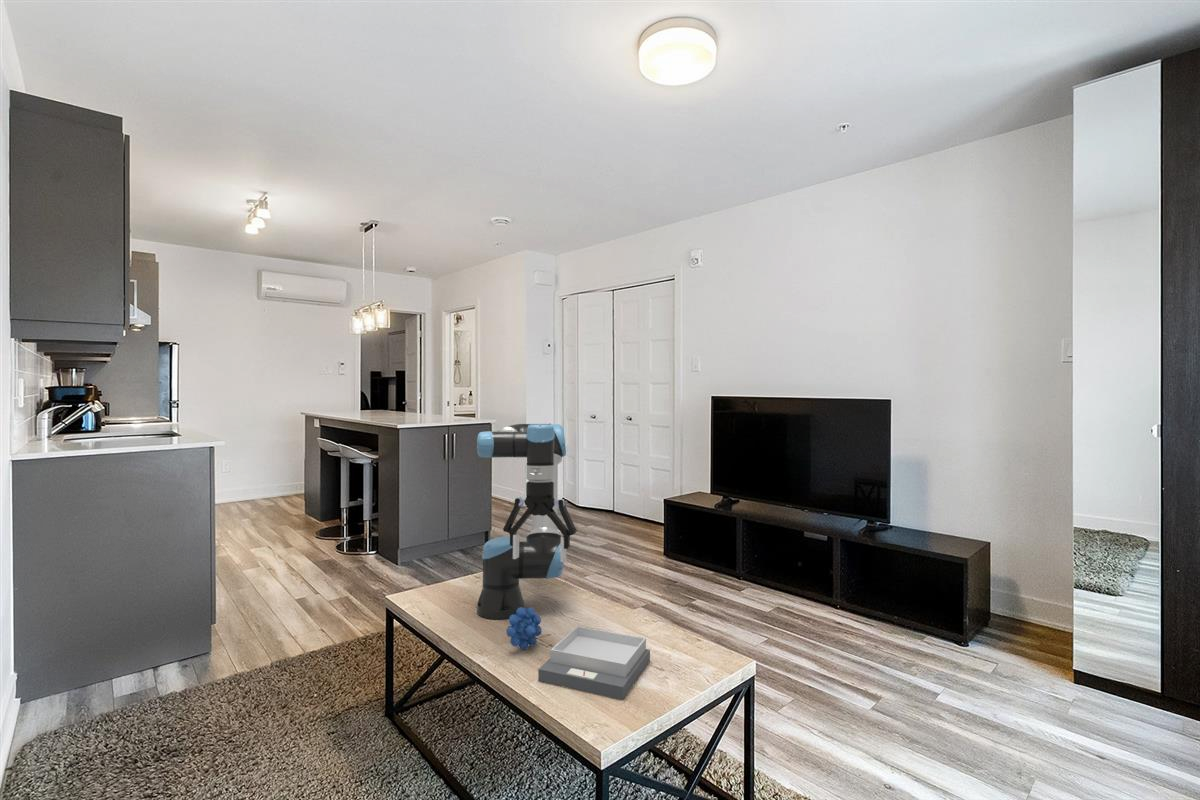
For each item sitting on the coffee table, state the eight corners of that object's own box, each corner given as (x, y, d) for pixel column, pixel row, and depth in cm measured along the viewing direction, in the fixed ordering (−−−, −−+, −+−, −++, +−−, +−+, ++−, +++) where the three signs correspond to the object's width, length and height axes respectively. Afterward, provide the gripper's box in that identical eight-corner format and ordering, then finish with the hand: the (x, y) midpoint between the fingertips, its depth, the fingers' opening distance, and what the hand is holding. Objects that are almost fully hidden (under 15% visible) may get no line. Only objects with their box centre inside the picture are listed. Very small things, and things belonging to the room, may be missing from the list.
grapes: (516, 661, 151) (516, 616, 151) (501, 653, 156) (501, 609, 155) (550, 648, 159) (551, 604, 159) (535, 640, 164) (535, 598, 164)
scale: (538, 681, 141) (538, 656, 141) (574, 646, 160) (574, 624, 160) (622, 700, 132) (622, 673, 132) (650, 661, 152) (650, 638, 152)
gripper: (492, 480, 156) (491, 559, 155) (580, 483, 151) (580, 565, 150) (502, 478, 164) (502, 554, 163) (587, 480, 158) (587, 558, 157)
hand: (539, 559), depth 156 cm, fingers open, 13 cm apart
